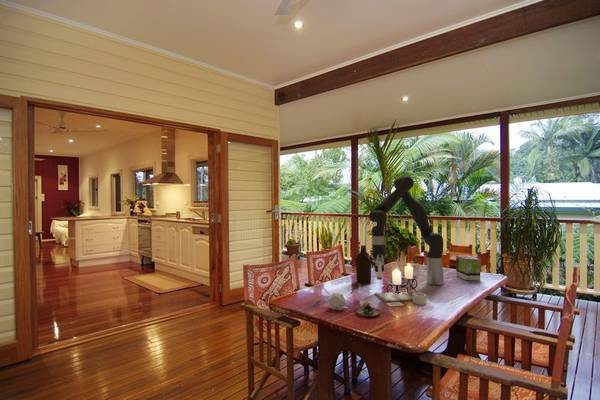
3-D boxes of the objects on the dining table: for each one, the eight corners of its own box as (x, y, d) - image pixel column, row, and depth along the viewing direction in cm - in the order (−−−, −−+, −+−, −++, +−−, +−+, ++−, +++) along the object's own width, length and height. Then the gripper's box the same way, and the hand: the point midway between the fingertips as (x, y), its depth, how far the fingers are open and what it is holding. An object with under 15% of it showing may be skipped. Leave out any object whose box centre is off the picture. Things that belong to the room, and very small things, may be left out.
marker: (380, 278, 200) (380, 256, 200) (383, 279, 197) (382, 257, 197) (376, 278, 199) (375, 256, 199) (378, 279, 196) (377, 257, 196)
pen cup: (422, 300, 180) (421, 292, 180) (428, 304, 173) (428, 295, 173) (411, 301, 179) (410, 293, 179) (417, 305, 172) (416, 296, 172)
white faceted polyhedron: (336, 314, 163) (347, 298, 164) (323, 303, 167) (334, 287, 167) (340, 314, 170) (350, 299, 171) (327, 304, 174) (337, 289, 175)
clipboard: (406, 292, 196) (406, 290, 196) (419, 300, 180) (419, 298, 180) (374, 294, 192) (374, 292, 192) (385, 302, 177) (385, 300, 177)
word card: (386, 303, 176) (386, 302, 176) (400, 302, 177) (400, 301, 177) (390, 306, 171) (390, 306, 171) (404, 305, 172) (404, 304, 172)
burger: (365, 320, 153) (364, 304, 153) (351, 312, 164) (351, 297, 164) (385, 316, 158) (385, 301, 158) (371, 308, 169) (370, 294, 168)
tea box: (481, 280, 218) (480, 258, 218) (466, 281, 219) (465, 259, 218) (469, 275, 234) (469, 254, 233) (455, 275, 234) (455, 255, 234)
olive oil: (364, 285, 211) (364, 247, 211) (352, 282, 220) (351, 245, 219) (375, 282, 218) (374, 245, 218) (362, 279, 226) (362, 243, 226)
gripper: (386, 241, 203) (387, 269, 203) (365, 243, 200) (366, 271, 201) (391, 243, 195) (392, 272, 195) (369, 244, 193) (370, 273, 193)
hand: (379, 271), depth 198 cm, fingers closed on marker, 3 cm apart
